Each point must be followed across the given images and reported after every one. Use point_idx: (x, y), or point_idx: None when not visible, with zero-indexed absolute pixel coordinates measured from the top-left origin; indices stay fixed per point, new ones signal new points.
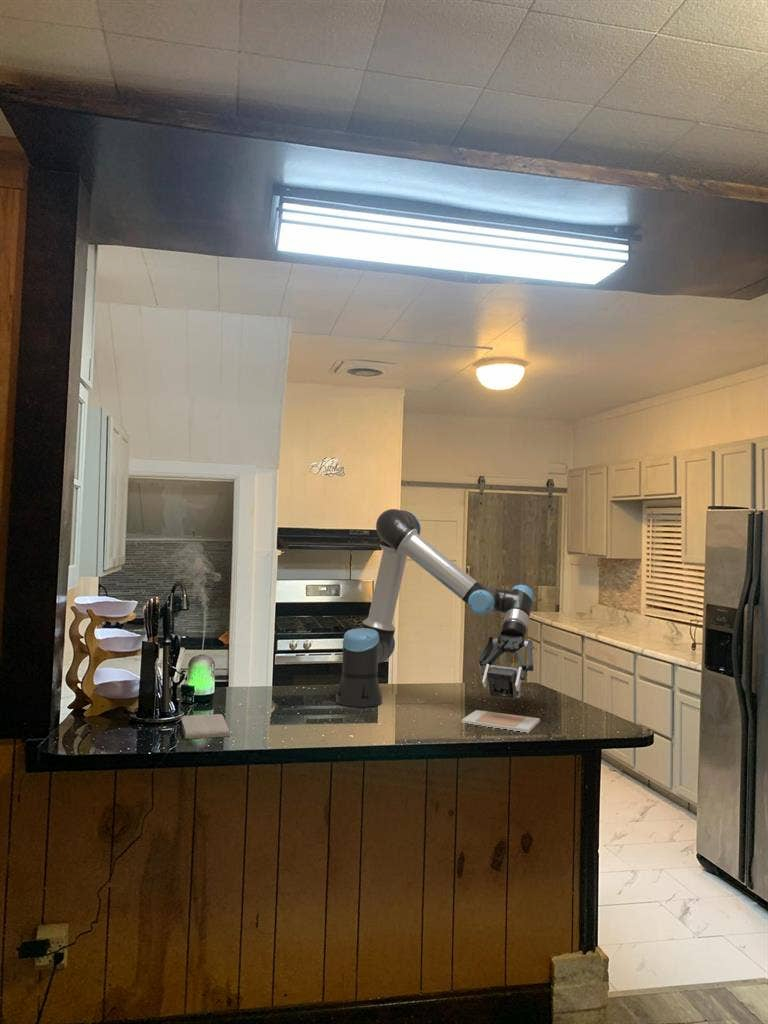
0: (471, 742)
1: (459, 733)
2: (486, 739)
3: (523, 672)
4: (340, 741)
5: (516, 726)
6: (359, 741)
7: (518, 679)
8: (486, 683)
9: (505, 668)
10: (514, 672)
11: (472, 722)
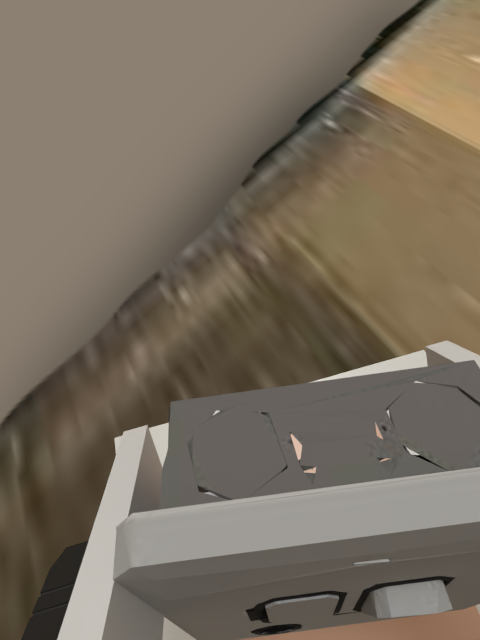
0: (227, 205)
1: (317, 248)
2: (209, 256)
3: (49, 627)
4: (449, 31)
5: None
6: (425, 52)
7: (113, 473)
8: None
9: (311, 489)
10: (161, 501)
11: (371, 365)
